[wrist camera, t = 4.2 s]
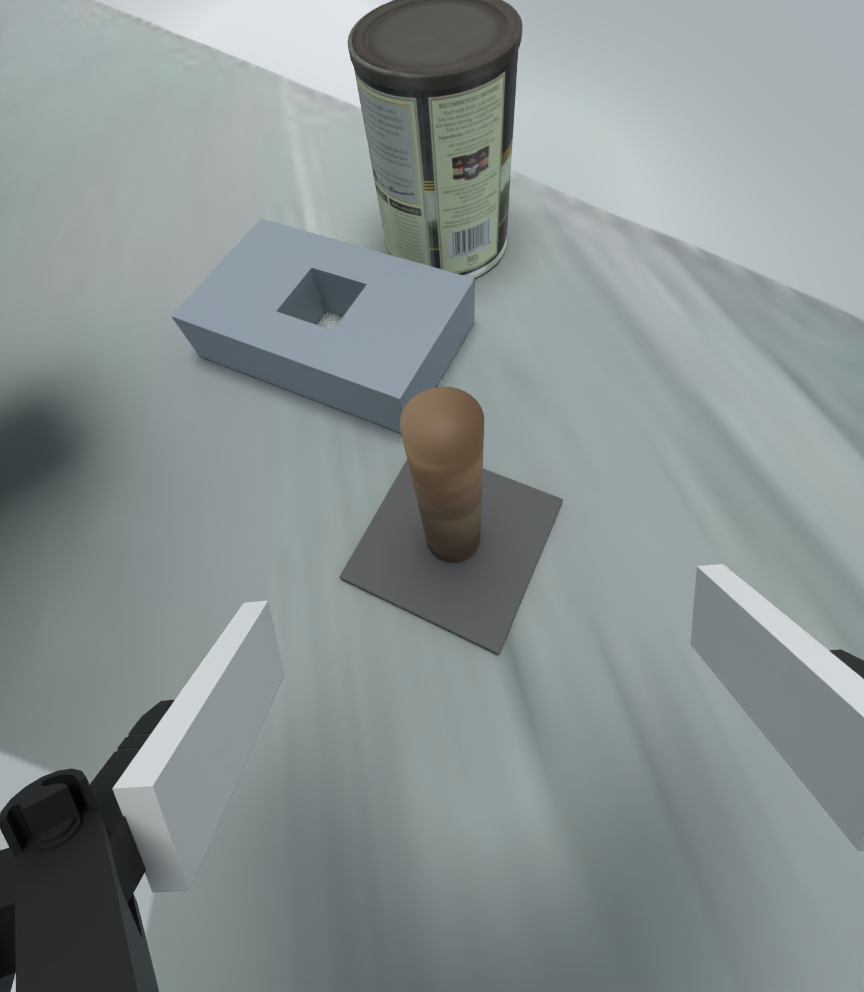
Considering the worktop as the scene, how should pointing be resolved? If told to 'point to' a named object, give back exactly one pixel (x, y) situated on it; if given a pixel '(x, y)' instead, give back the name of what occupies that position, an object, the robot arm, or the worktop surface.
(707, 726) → the worktop surface
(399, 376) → the socket board
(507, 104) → the coffee can
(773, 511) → the worktop surface
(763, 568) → the worktop surface
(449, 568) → the mat
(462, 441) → the dowel
